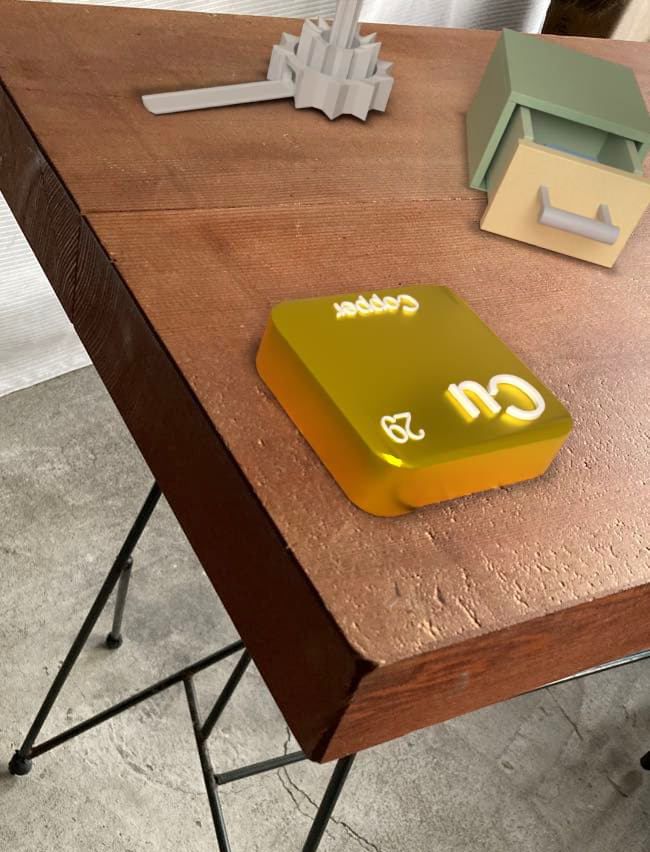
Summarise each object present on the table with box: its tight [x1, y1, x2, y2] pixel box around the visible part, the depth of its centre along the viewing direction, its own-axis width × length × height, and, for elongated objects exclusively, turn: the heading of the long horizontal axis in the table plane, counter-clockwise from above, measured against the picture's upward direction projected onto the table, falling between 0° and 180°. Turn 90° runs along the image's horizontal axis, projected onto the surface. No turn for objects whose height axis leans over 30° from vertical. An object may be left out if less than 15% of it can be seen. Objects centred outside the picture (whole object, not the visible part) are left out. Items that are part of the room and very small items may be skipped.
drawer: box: [479, 103, 650, 269], centre depth 80 cm, size 18×11×7 cm, turn 172°
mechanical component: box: [141, 0, 395, 122], centre depth 82 cm, size 11×25×15 cm, turn 136°
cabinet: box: [465, 26, 650, 193], centre depth 88 cm, size 15×13×9 cm
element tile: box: [255, 284, 574, 518], centre depth 60 cm, size 15×15×5 cm
